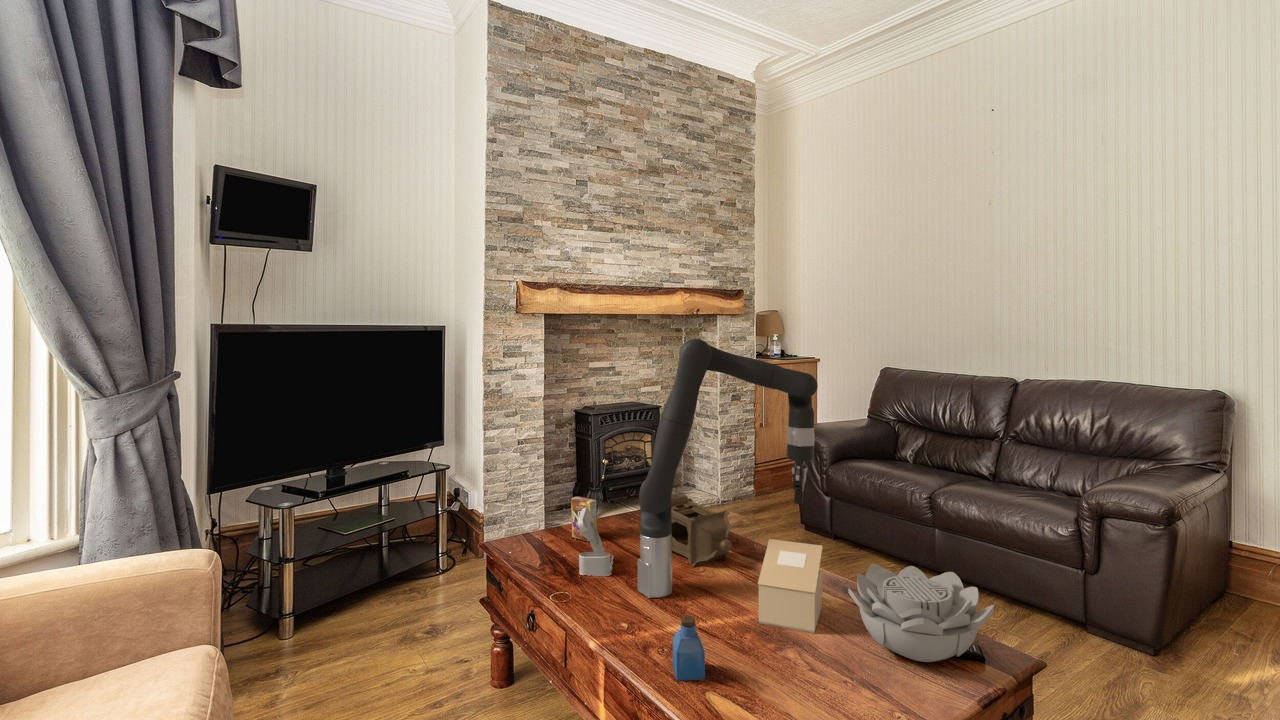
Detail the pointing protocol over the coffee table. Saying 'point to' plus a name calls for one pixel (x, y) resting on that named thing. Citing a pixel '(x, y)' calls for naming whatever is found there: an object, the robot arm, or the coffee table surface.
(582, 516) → the phone holder
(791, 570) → the lid flap
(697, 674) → the perfume bottle
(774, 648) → the coffee table surface
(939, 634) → the decorative bowl
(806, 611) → the cardboard carton
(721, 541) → the brown lantern
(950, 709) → the coffee table surface
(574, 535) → the candy box
